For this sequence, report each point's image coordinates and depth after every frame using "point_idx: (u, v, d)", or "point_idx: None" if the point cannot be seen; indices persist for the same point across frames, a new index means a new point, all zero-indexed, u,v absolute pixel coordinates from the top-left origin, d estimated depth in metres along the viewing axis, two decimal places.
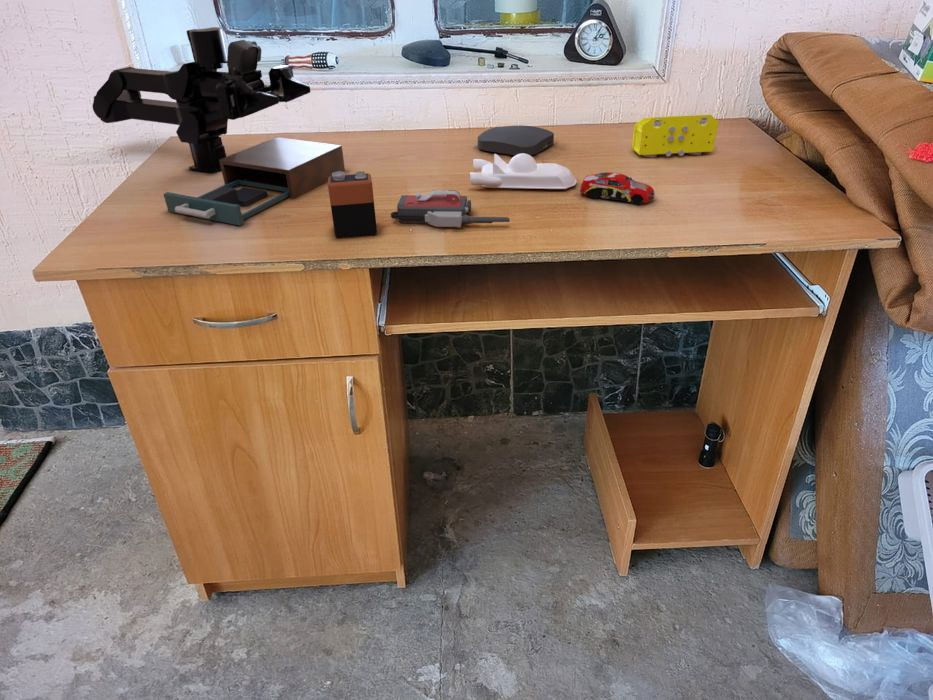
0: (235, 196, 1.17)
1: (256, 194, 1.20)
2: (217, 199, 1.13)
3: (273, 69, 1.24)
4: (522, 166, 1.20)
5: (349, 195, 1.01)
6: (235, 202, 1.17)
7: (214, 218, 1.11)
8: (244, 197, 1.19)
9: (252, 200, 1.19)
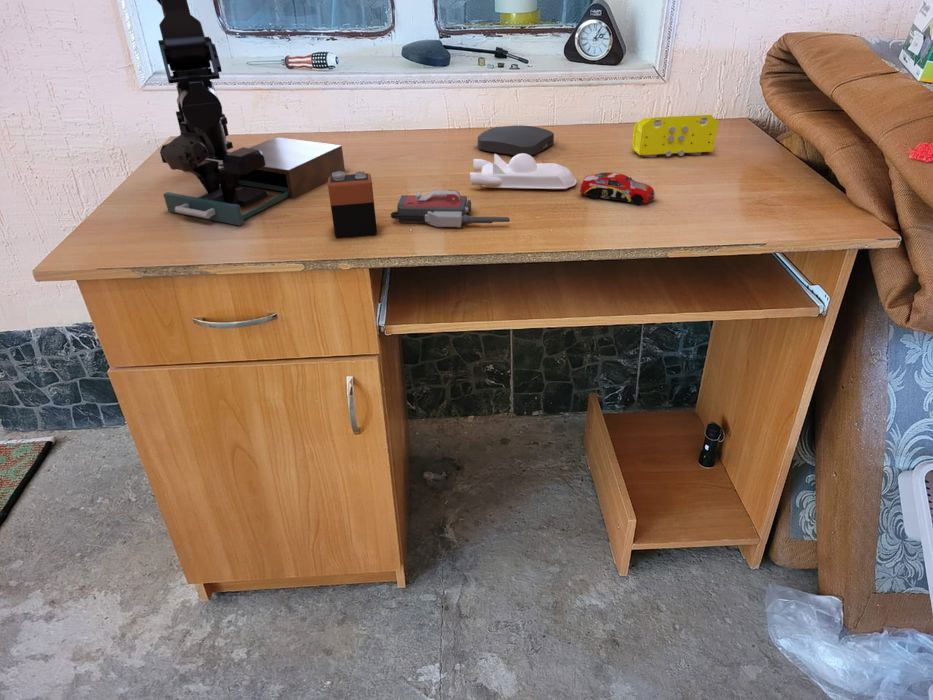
0: (235, 196, 1.17)
1: (256, 194, 1.20)
2: (217, 199, 1.13)
3: None
4: (522, 166, 1.20)
5: (349, 195, 1.01)
6: (235, 202, 1.17)
7: (214, 218, 1.11)
8: (244, 197, 1.19)
9: (252, 200, 1.19)
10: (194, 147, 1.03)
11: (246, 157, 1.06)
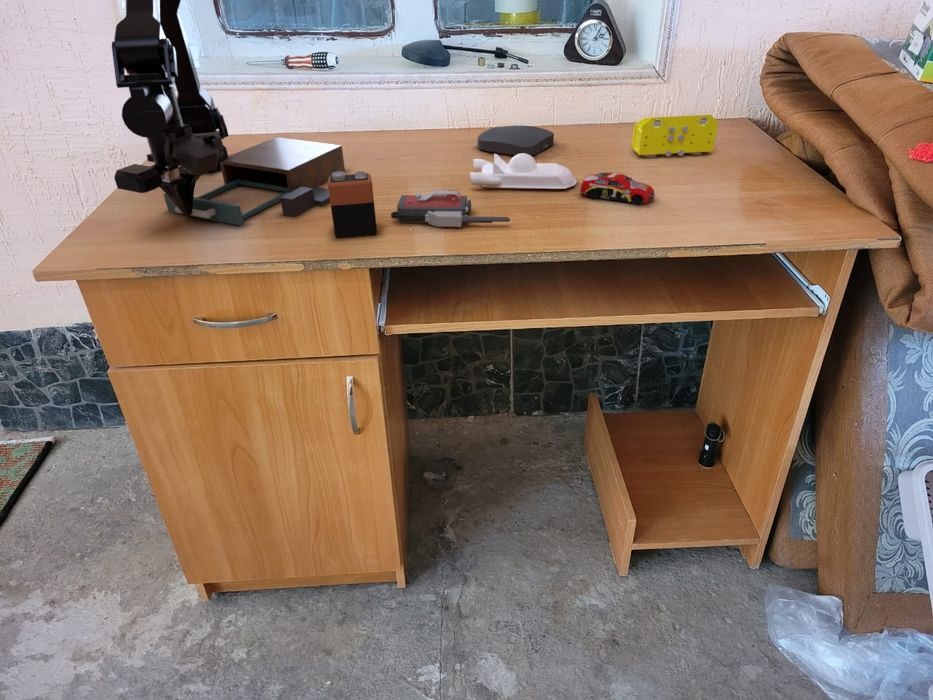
0: (312, 196, 1.16)
1: None
2: (296, 199, 1.12)
3: None
4: (522, 166, 1.20)
5: (349, 195, 1.01)
6: (312, 202, 1.16)
7: (214, 218, 1.12)
8: (319, 197, 1.18)
9: (328, 200, 1.18)
10: None
11: None
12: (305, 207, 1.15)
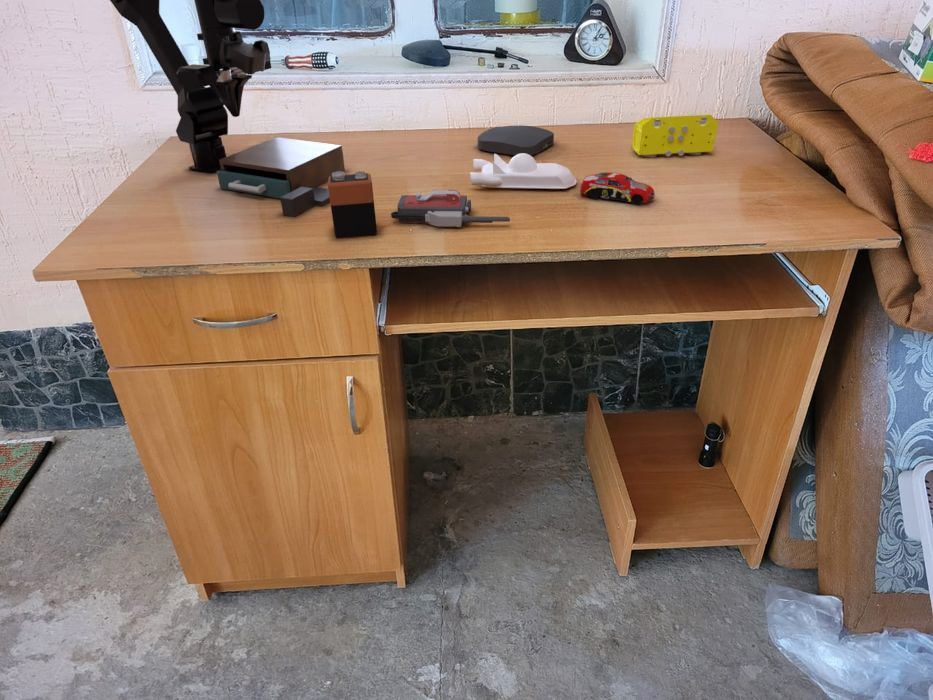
0: (312, 196, 1.16)
1: None
2: (296, 199, 1.12)
3: None
4: (522, 166, 1.20)
5: (349, 195, 1.01)
6: (312, 202, 1.16)
7: (264, 193, 1.21)
8: (319, 197, 1.18)
9: (328, 200, 1.18)
10: None
11: None
12: (305, 207, 1.15)
